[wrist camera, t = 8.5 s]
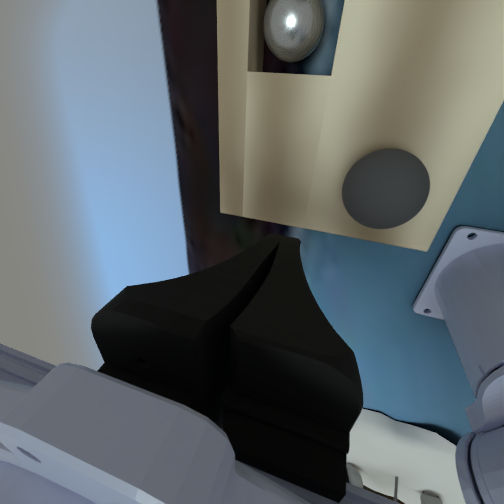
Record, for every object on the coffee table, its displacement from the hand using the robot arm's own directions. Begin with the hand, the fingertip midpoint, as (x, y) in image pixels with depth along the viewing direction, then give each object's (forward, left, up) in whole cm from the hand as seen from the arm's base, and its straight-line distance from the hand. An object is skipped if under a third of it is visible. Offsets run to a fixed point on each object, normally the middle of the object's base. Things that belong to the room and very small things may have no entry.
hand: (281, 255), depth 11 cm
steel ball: (+2, -9, -8) cm, 12 cm away
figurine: (-17, +33, -10) cm, 39 cm away
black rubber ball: (-4, -2, -5) cm, 7 cm away
